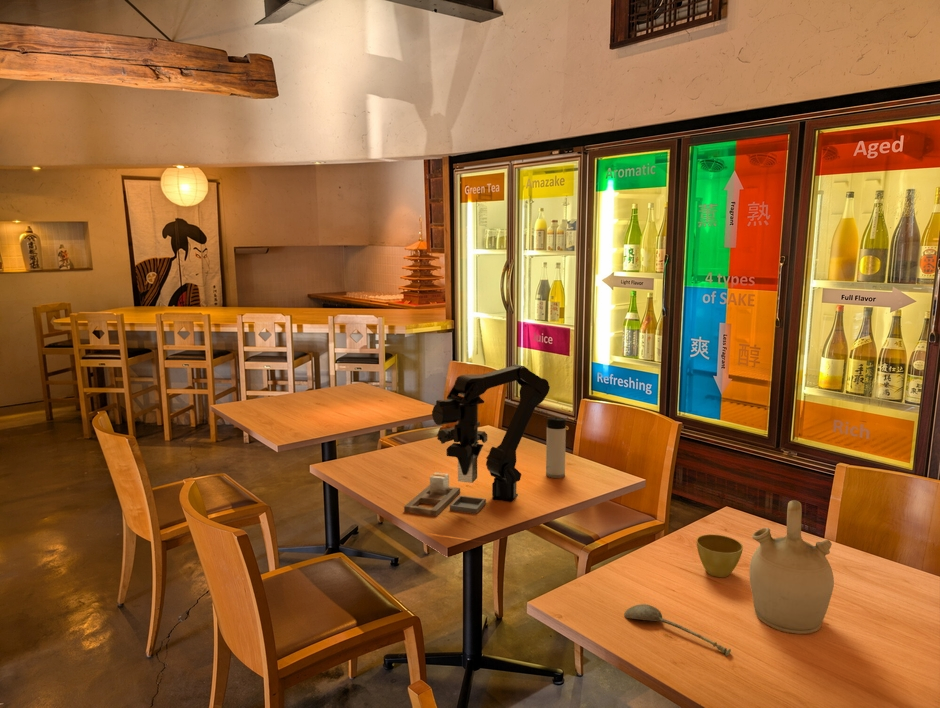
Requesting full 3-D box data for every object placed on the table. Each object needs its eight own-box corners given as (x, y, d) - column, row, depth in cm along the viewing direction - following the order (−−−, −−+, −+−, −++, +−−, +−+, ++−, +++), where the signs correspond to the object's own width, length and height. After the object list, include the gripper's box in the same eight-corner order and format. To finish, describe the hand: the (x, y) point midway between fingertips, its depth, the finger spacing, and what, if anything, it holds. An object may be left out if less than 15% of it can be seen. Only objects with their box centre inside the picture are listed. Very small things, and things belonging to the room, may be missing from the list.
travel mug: (542, 476, 217) (543, 418, 214) (549, 471, 223) (550, 413, 220) (560, 479, 214) (561, 420, 211) (567, 473, 220) (568, 416, 217)
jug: (733, 618, 133) (741, 501, 129) (764, 590, 144) (772, 482, 140) (814, 650, 122) (825, 524, 119) (840, 618, 133) (851, 501, 129)
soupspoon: (635, 608, 139) (617, 621, 135) (635, 593, 139) (617, 606, 134) (737, 649, 123) (720, 666, 119) (737, 633, 123) (720, 649, 118)
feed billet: (463, 476, 192) (463, 452, 191) (477, 478, 191) (477, 454, 190) (457, 481, 188) (457, 457, 187) (472, 483, 187) (472, 458, 185)
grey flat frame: (460, 494, 202) (460, 488, 201) (436, 517, 184) (436, 510, 184) (430, 490, 205) (430, 484, 205) (404, 512, 187) (404, 506, 187)
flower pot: (719, 559, 159) (721, 531, 158) (751, 578, 150) (753, 548, 148) (685, 566, 155) (687, 537, 154) (715, 586, 146) (717, 556, 145)
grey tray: (485, 504, 193) (485, 498, 193) (476, 515, 186) (476, 509, 185) (459, 501, 196) (459, 495, 196) (449, 511, 188) (449, 505, 188)
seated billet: (449, 495, 200) (448, 473, 199) (443, 501, 196) (443, 478, 195) (435, 494, 202) (435, 471, 201) (430, 499, 198) (429, 476, 197)
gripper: (453, 410, 198) (453, 459, 200) (428, 425, 181) (429, 479, 183) (488, 413, 194) (487, 463, 197) (466, 428, 177) (466, 484, 179)
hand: (467, 472), depth 189 cm, fingers closed on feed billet, 4 cm apart
